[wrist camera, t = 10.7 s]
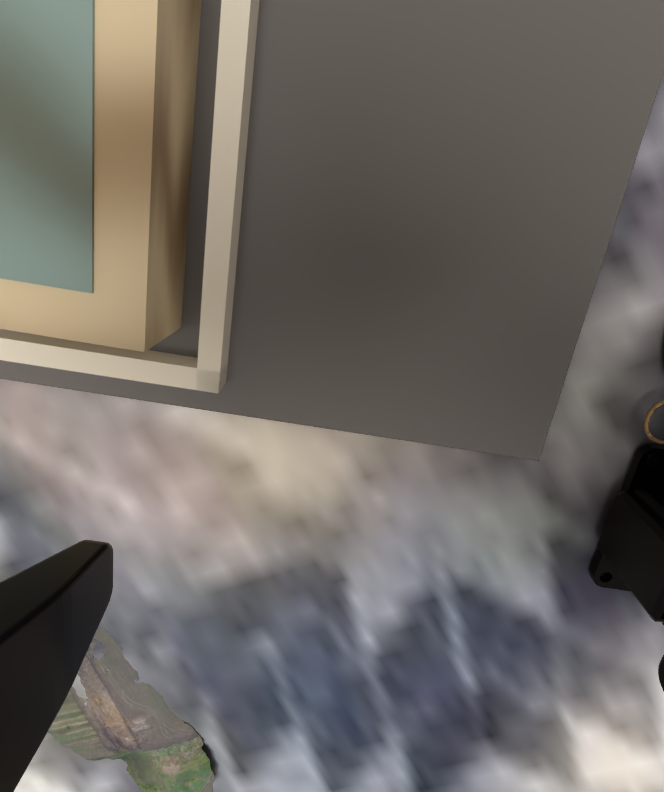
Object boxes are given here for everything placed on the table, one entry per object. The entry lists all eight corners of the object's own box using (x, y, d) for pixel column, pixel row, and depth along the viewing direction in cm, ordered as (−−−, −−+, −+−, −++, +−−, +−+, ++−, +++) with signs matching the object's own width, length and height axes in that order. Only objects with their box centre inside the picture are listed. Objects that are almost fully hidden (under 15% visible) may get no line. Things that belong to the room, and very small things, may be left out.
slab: (181, 327, 18) (143, 352, 15) (13, 300, 18) (-64, 319, 15) (201, -5, 15) (158, -69, 12) (-4, -42, 15) (-108, -118, 11)
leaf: (-115, 505, 24) (-136, 517, 23) (10, 447, 22) (-7, 457, 21) (112, 804, 28) (102, 825, 27) (228, 775, 27) (222, 795, 26)
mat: (779, -327, 13) (845, -408, 11) (533, 453, 20) (550, 475, 18) (-183, -508, 12) (-267, -623, 11) (-78, 360, 20) (-118, 374, 18)
